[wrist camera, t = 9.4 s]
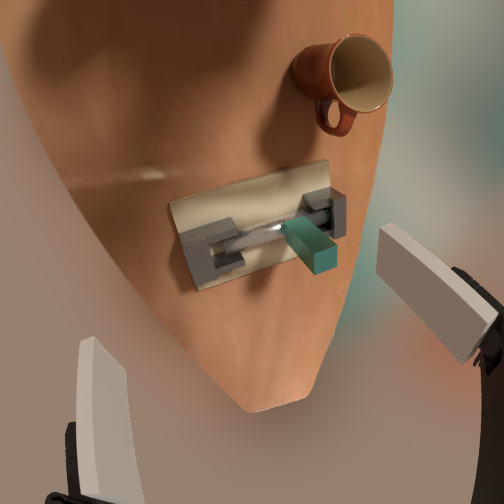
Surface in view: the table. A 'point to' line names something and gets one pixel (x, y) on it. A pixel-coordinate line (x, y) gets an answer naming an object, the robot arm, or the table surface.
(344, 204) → the socket
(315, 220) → the teal and grey t-piece
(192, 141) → the table surface
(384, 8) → the table surface
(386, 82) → the mug
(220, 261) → the bracket
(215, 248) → the board
